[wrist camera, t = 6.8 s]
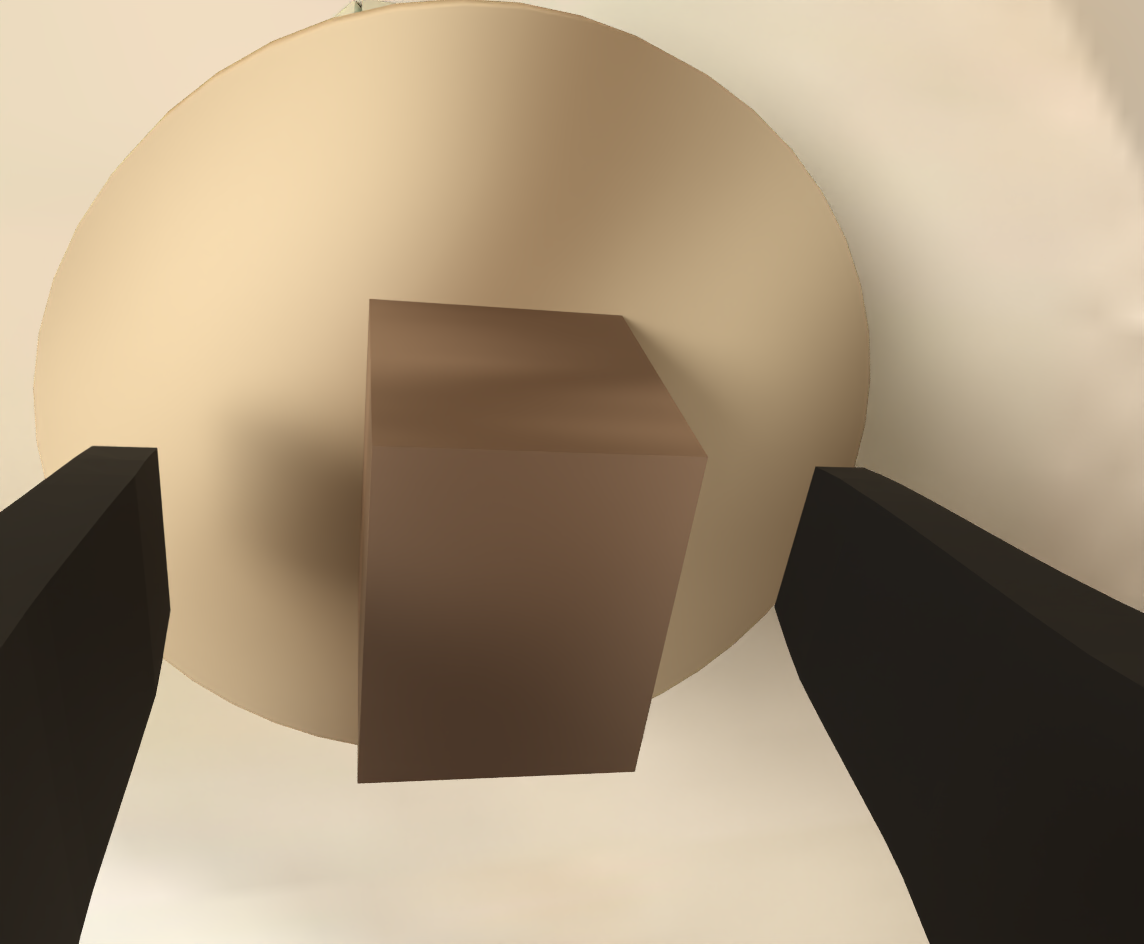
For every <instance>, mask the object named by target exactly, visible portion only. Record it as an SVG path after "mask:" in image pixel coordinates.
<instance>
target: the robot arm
mask: <svg viewBox="0 0 1144 944" xmlns="http://www.w3.org/2000/svg"><path fill="white" fill-rule="evenodd" d="M774 607H775V610H776V613H777V616H778V619H779V622H780V625H781V628H782V632H783V635H784V638H785V641H786V644H787V647H788V649H789V652H790V655H791V657H792V660H793V663H794V665H795V668H796V671H797V673H798V676H799V679H800V681H801V683H802V685H803V687H804V689H805V691H806V693H807V695H808V697H809V699H810V700H811V702H812V704H813V706H814V708H815V710H816V712H817V714H818V716H819V718H820V720H821V722H822V723H823V725H824V727H825V729H826V731H827V733H828V735H829V737H830V739H831V741H832V742H833V744H834V746H835V748H836V750H837V752H838V754H839V755H840V757H841V759H842V761H843V763H844V765H845V767H846V768H847V770H848V772H849V774H850V776H851V778H852V780H853V781H854V783H855V785H856V787H857V789H858V791H859V793H860V795H861V796H862V798H863V800H864V802H865V804H866V806H867V808H868V809H869V811H870V813H871V815H872V817H873V819H874V821H875V823H876V824H877V826H878V828H879V830H880V832H881V834H882V836H883V837H884V839H885V841H886V843H887V846H888V848H889V850H890V852H891V854H892V856H893V858H894V860H895V862H896V864H897V866H898V868H899V870H900V873H901V875H902V877H903V879H904V882H905V884H906V886H907V889H908V891H909V894H910V896H911V899H912V901H913V904H914V906H915V909H916V911H917V914H918V916H919V918H920V921H921V923H922V926H923V928H924V931H925V933H926V936H927V938H928V941H929V943H930V944H1144V613H1142V612H1140V611H1138V610H1136V609H1134V608H1132V607H1130V606H1127V605H1125V604H1123V603H1121V602H1119V601H1117V600H1115V599H1113V598H1111V597H1109V596H1107V595H1105V594H1103V593H1101V592H1099V591H1097V590H1095V589H1093V588H1091V587H1089V586H1087V585H1085V584H1083V583H1081V582H1079V581H1077V580H1076V579H1074V578H1072V577H1070V576H1068V575H1066V574H1064V573H1062V572H1060V571H1058V570H1056V569H1054V568H1052V567H1051V566H1049V565H1047V564H1045V563H1043V562H1041V561H1039V560H1037V559H1036V558H1034V557H1032V556H1030V555H1028V554H1026V553H1025V552H1023V551H1021V550H1019V549H1017V548H1015V547H1014V546H1012V545H1010V544H1008V543H1006V542H1005V541H1003V540H1001V539H999V538H997V537H996V536H994V535H992V534H990V533H988V532H987V531H985V530H983V529H981V528H980V527H978V526H976V525H974V524H972V523H971V522H969V521H967V520H965V519H964V518H962V517H960V516H958V515H956V514H955V513H953V512H951V511H949V510H947V509H946V508H944V507H942V506H940V505H938V504H937V503H935V502H933V501H931V500H929V499H928V498H926V497H924V496H922V495H920V494H918V493H916V492H914V491H912V490H911V489H909V488H907V487H905V486H903V485H901V484H899V483H897V482H895V481H893V480H891V479H889V478H887V477H884V476H882V475H880V474H878V473H875V472H873V471H870V470H868V469H865V468H855V467H820V466H815V469H814V473H813V476H812V480H811V483H810V487H809V490H808V493H807V497H806V500H805V504H804V507H803V510H802V514H801V517H800V521H799V524H798V528H797V531H796V534H795V538H794V541H793V545H792V548H791V551H790V555H789V558H788V562H787V565H786V569H785V572H784V575H783V579H782V582H781V586H780V589H779V592H778V596H777V599H776V603H775V606H774ZM170 611H171V608H170V596H169V584H168V572H167V559H166V547H165V535H164V523H163V510H162V498H161V486H160V474H159V461H158V449H157V448H152V447H117V446H91V447H90V448H88V449H86V450H85V451H83V452H82V453H80V454H79V455H77V456H76V457H75V458H73V459H72V460H70V461H69V462H68V463H66V464H65V465H64V466H62V467H61V468H60V469H58V470H57V471H55V472H54V473H53V474H51V475H50V476H49V477H47V478H46V479H45V480H43V481H42V482H41V483H39V484H38V485H37V486H35V487H34V488H33V489H31V490H30V491H29V492H27V493H26V494H25V495H23V496H22V497H21V498H19V499H18V500H17V501H15V502H14V503H12V504H11V505H10V506H8V507H7V508H5V509H4V510H3V511H1V512H0V944H79V940H80V936H81V932H82V928H83V925H84V921H85V917H86V914H87V910H88V906H89V903H90V899H91V896H92V892H93V889H94V886H95V882H96V879H97V876H98V873H99V870H100V867H101V864H102V861H103V858H104V855H105V852H106V849H107V845H108V842H109V839H110V836H111V833H112V830H113V827H114V824H115V821H116V818H117V815H118V812H119V809H120V805H121V802H122V799H123V796H124V793H125V790H126V787H127V784H128V781H129V778H130V775H131V772H132V769H133V765H134V762H135V759H136V756H137V753H138V750H139V747H140V744H141V740H142V737H143V734H144V731H145V728H146V725H147V721H148V718H149V715H150V712H151V709H152V705H153V702H154V699H155V696H156V691H157V686H158V681H159V675H160V670H161V664H162V659H163V653H164V647H165V641H166V635H167V629H168V623H169V617H170Z"/></svg>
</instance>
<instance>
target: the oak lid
mask: <svg viewBox="0 0 1144 944" xmlns="http://www.w3.org/2000/svg"><path fill="white" fill-rule="evenodd" d="M869 385H870V353H869V330H868V324H867V318H866V312H865V306H864V300H863V294H862V289H861V284H860V281H859V278H858V275H857V272H856V269H855V266H854V263H853V260H852V256H851V253H850V250H849V247H848V244H847V241H846V238H845V236H844V234H843V232H842V230H841V228H840V226H839V224H838V222H837V220H836V218H835V216H834V214H833V212H832V210H831V208H830V206H829V204H828V203H827V201H826V199H825V197H824V195H823V193H822V191H821V190H820V189H819V187H818V186H817V184H816V183H815V181H814V180H813V179H812V177H811V176H810V174H809V173H808V172H807V170H806V169H805V167H804V166H803V165H802V163H801V162H800V160H799V159H798V158H797V156H796V155H795V153H794V152H793V150H792V149H791V148H790V147H789V146H788V145H787V144H786V143H785V142H784V141H783V140H782V139H781V138H780V137H779V136H778V135H777V134H776V133H775V132H774V131H773V130H772V129H771V128H770V127H769V126H768V124H767V123H766V122H765V121H764V120H763V119H762V118H761V117H760V116H759V115H758V114H757V113H756V112H755V111H754V110H753V109H751V108H750V107H749V106H748V105H746V104H745V103H744V102H742V101H741V100H740V99H738V98H737V97H736V96H734V95H733V94H732V93H730V92H729V91H728V90H727V89H725V88H724V87H723V86H721V85H720V84H719V83H717V82H716V81H715V80H713V79H712V78H711V77H709V76H708V75H707V74H705V73H703V72H701V71H699V70H698V69H696V68H694V67H692V66H690V65H688V64H687V63H685V62H683V61H681V60H679V59H677V58H676V57H674V56H672V55H670V54H668V53H666V52H665V51H663V50H661V49H659V48H657V47H655V46H654V45H652V44H650V43H648V42H646V41H644V40H643V39H641V38H639V37H637V36H635V35H632V34H629V33H627V32H624V31H621V30H618V29H616V28H613V27H610V26H608V25H605V24H602V23H600V22H597V21H594V20H591V19H589V18H586V17H583V16H581V15H576V14H571V13H567V12H562V11H557V10H552V9H548V8H543V7H538V6H533V5H529V4H524V3H517V2H501V1H485V0H436V1H423V2H411V3H399V4H391V5H387V6H383V7H378V8H374V9H369V10H365V11H361V12H356V13H352V14H348V15H343V16H339V17H335V18H331V19H328V20H326V21H323V22H320V23H318V24H315V25H313V26H310V27H308V28H305V29H303V30H300V31H297V32H295V33H292V34H290V35H287V36H285V37H282V38H279V39H277V40H274V41H272V42H270V43H268V44H267V45H265V46H263V47H261V48H260V49H258V50H256V51H254V52H253V53H251V54H249V55H247V56H246V57H244V58H242V59H240V60H239V61H237V62H235V63H233V64H232V65H230V66H228V67H226V68H225V69H223V70H221V71H219V72H218V73H216V74H215V75H214V76H212V77H211V78H210V79H209V80H207V81H206V82H205V83H204V84H202V85H201V86H200V87H199V88H197V89H196V90H195V91H194V92H192V93H191V94H190V95H189V96H187V97H186V98H185V99H184V100H182V101H181V102H180V103H178V104H177V105H176V106H175V107H173V108H172V109H171V110H170V111H168V113H167V114H166V115H165V116H164V117H163V118H162V119H161V120H160V121H159V122H158V123H157V124H156V126H155V127H154V128H153V129H152V130H151V131H150V132H149V133H148V134H147V135H146V136H145V137H144V139H143V140H142V141H141V142H140V143H139V144H138V145H137V146H136V147H135V148H134V149H133V150H132V152H131V153H130V154H129V155H128V156H127V157H126V158H125V159H124V160H123V162H122V163H121V164H120V165H119V166H118V167H117V169H116V170H115V171H114V172H113V173H112V174H111V176H110V177H109V179H108V180H107V182H106V183H105V185H104V186H103V188H102V189H101V191H100V192H99V194H98V195H97V197H96V198H95V200H94V202H93V203H92V205H91V206H90V208H89V209H88V211H87V212H86V214H85V215H84V217H83V218H82V220H81V221H80V223H79V224H78V226H77V228H76V230H75V232H74V235H73V237H72V239H71V241H70V243H69V246H68V248H67V250H66V252H65V254H64V257H63V259H62V261H61V263H60V265H59V268H58V270H57V272H56V274H55V277H54V279H53V282H52V286H51V290H50V294H49V297H48V301H47V305H46V308H45V312H44V316H43V320H42V323H41V327H40V331H39V335H38V345H37V356H36V366H35V376H34V386H33V393H34V408H35V424H36V440H37V445H38V450H39V454H40V459H41V463H42V467H43V472H44V476H45V479H46V478H47V477H49V476H50V475H51V474H53V473H54V472H55V471H57V470H58V469H60V468H61V467H62V466H64V465H65V464H66V463H68V462H69V461H70V460H72V459H73V458H75V457H76V456H77V455H79V454H80V453H82V452H83V451H85V450H86V449H88V448H90V447H91V446H117V447H152V448H157V449H158V461H159V474H160V486H161V498H162V510H163V523H164V535H165V547H166V559H167V572H168V584H169V596H170V608H171V611H170V617H169V623H168V629H167V635H166V641H165V647H164V653H163V659H165V660H166V661H167V662H169V663H170V664H171V665H173V666H174V667H175V668H176V669H178V670H179V671H180V672H182V673H183V674H184V675H186V676H187V677H188V678H190V679H191V680H192V681H194V682H196V683H197V684H199V685H201V686H203V687H204V688H206V689H208V690H209V691H211V692H213V693H215V694H216V695H218V696H220V697H221V698H223V699H225V700H226V701H228V702H230V703H232V704H234V705H236V706H238V707H240V708H243V709H245V710H247V711H249V712H252V713H254V714H256V715H258V716H261V717H263V718H265V719H267V720H270V721H272V722H274V723H277V724H280V725H283V726H286V727H289V728H293V729H296V730H299V731H302V732H305V733H308V734H311V735H314V736H318V737H322V738H327V739H332V740H336V741H341V742H346V743H351V744H355V745H358V783H381V782H404V781H428V780H451V779H475V778H498V777H521V776H545V775H568V774H592V773H615V772H635V768H636V764H637V759H638V755H639V751H640V747H641V742H642V738H643V734H644V729H645V725H646V721H647V717H648V712H649V708H650V704H651V699H652V698H654V697H656V696H658V695H660V694H662V693H664V692H665V691H667V690H669V689H670V688H672V687H673V686H675V685H677V684H678V683H680V682H682V681H683V680H685V679H686V678H688V677H690V676H691V675H693V674H695V673H696V672H698V671H699V670H701V669H702V668H703V667H705V666H706V665H707V664H708V663H710V662H711V661H712V660H714V659H715V658H716V657H718V656H719V655H720V654H722V653H723V652H724V651H726V650H727V649H728V648H730V647H731V646H732V645H733V644H734V643H736V642H737V641H738V640H739V639H740V638H741V637H742V636H743V635H744V634H745V633H746V632H747V631H748V630H749V629H751V628H752V627H753V626H754V625H755V624H756V623H757V622H758V621H759V620H760V619H761V618H762V617H763V616H764V615H765V614H766V613H767V612H768V611H769V610H770V609H771V607H772V606H773V605H774V604H775V603H776V599H777V596H778V592H779V589H780V586H781V582H782V579H783V575H784V572H785V569H786V565H787V562H788V558H789V555H790V551H791V548H792V545H793V541H794V538H795V534H796V531H797V528H798V524H799V521H800V517H801V514H802V510H803V507H804V504H805V500H806V497H807V493H808V490H809V487H810V483H811V480H812V476H813V473H814V469H815V466H820V467H854V466H855V462H856V458H857V454H858V450H859V446H860V442H861V438H862V434H863V430H864V426H865V420H866V411H867V402H868V393H869Z"/></svg>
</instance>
